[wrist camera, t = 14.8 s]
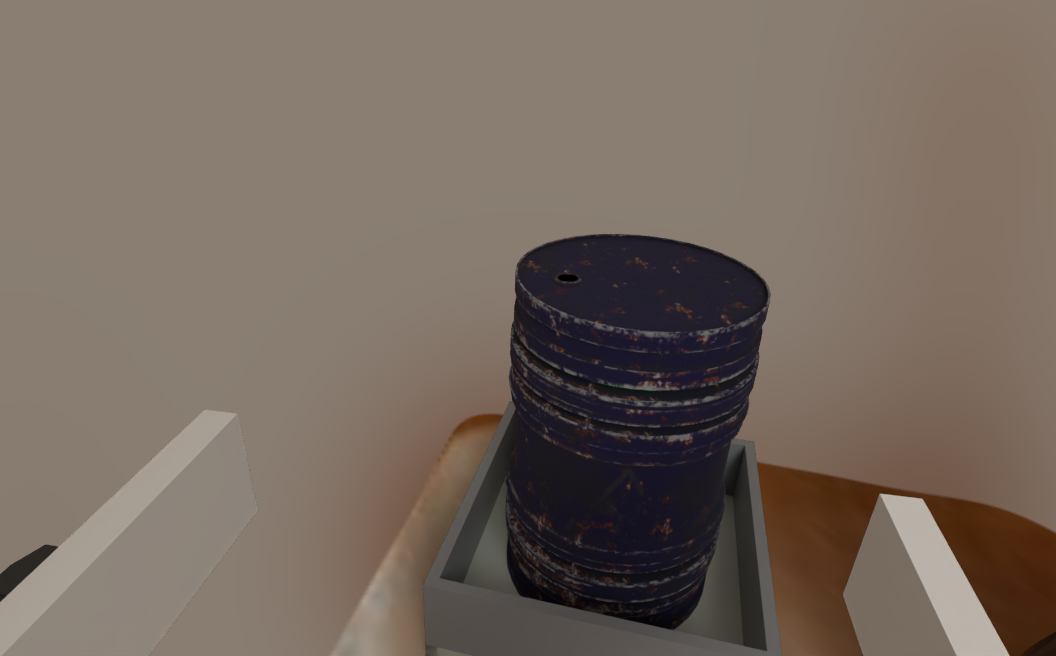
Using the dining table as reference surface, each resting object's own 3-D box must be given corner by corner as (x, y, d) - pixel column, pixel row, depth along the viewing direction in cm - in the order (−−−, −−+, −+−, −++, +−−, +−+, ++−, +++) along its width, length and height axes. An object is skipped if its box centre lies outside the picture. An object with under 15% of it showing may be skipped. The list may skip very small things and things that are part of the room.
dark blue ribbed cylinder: (664, 481, 37) (707, 231, 30) (745, 630, 28) (831, 327, 21) (491, 497, 35) (495, 235, 28) (521, 661, 27) (537, 342, 20)
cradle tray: (738, 505, 37) (754, 441, 35) (757, 742, 25) (783, 667, 23) (507, 463, 39) (510, 401, 37) (426, 659, 28) (422, 585, 25)
